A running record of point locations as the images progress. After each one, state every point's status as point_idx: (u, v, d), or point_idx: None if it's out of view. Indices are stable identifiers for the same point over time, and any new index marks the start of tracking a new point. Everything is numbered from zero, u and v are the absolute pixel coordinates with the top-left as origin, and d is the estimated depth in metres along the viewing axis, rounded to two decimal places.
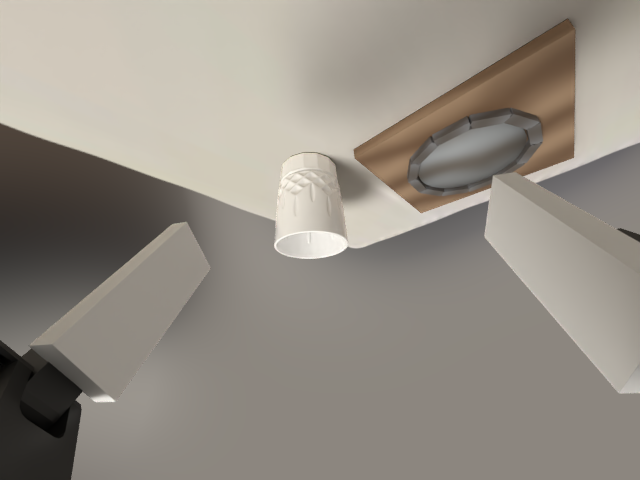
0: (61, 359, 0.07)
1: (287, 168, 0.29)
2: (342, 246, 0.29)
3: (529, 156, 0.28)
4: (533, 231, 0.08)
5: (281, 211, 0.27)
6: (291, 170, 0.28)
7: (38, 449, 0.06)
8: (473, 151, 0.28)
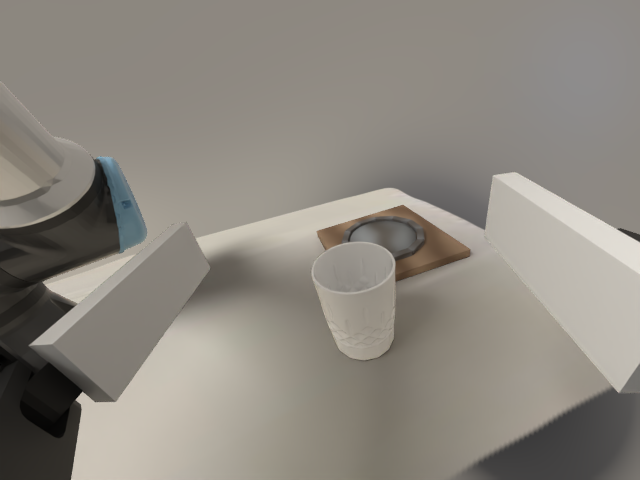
0: (61, 359, 0.07)
1: (333, 336, 0.28)
2: (375, 247, 0.27)
3: (385, 216, 0.48)
4: (533, 231, 0.08)
5: (321, 304, 0.25)
6: None
7: (38, 449, 0.06)
8: (372, 236, 0.44)
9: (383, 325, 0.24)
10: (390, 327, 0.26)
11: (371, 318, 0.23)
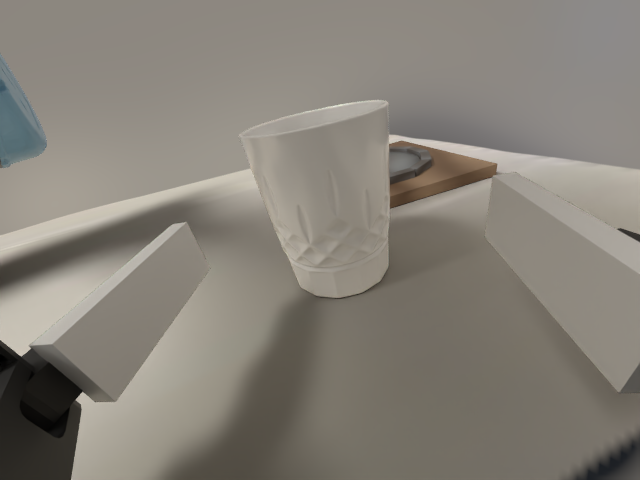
0: (61, 359, 0.07)
1: (291, 265, 0.18)
2: (355, 108, 0.16)
3: None
4: (533, 231, 0.08)
5: (260, 192, 0.14)
6: None
7: (38, 449, 0.06)
8: None
9: (368, 223, 0.14)
10: (381, 235, 0.15)
11: (344, 201, 0.12)
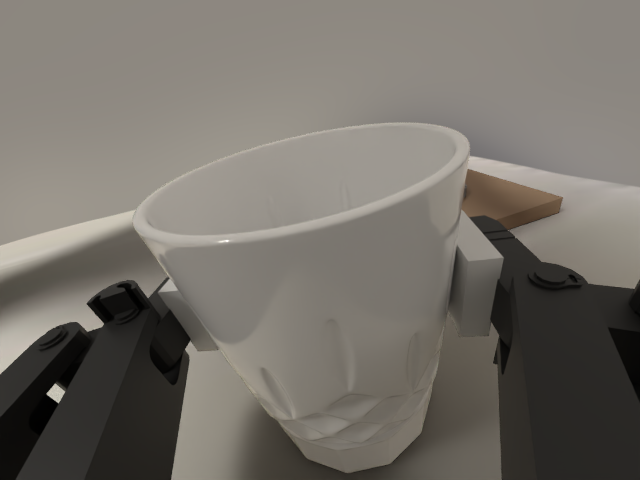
0: (183, 306, 0.08)
1: None
2: (379, 134, 0.09)
3: None
4: None
5: None
6: None
7: (159, 393, 0.06)
8: None
9: (412, 382, 0.07)
10: (431, 380, 0.08)
11: (367, 367, 0.05)
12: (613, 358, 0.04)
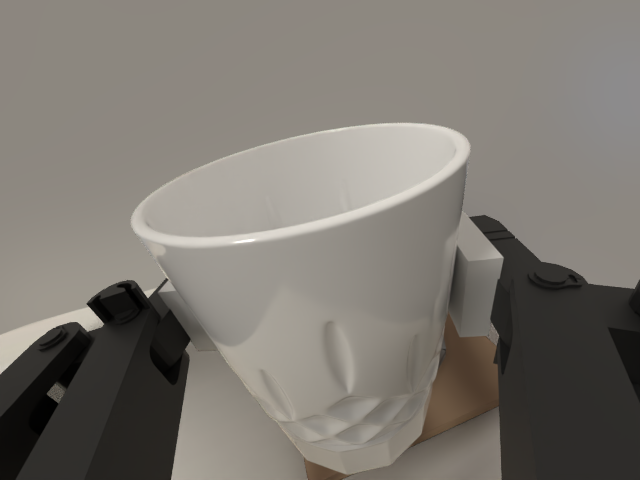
0: (183, 306, 0.08)
1: None
2: (379, 134, 0.09)
3: None
4: None
5: None
6: None
7: (159, 393, 0.06)
8: None
9: (412, 383, 0.07)
10: (431, 381, 0.08)
11: (366, 368, 0.05)
12: (613, 358, 0.04)
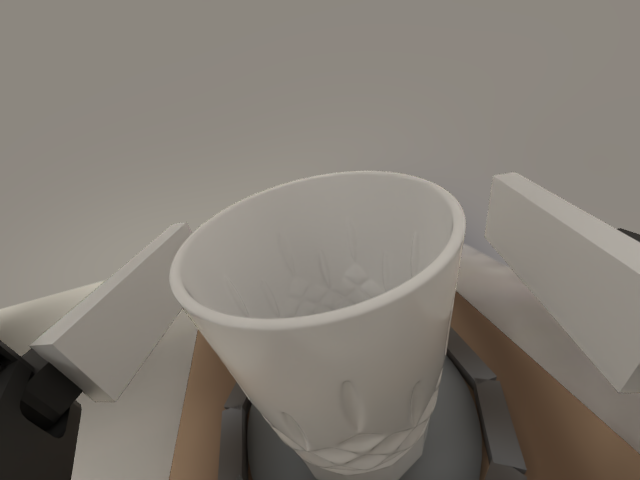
0: (61, 359, 0.07)
1: None
2: (383, 181, 0.10)
3: None
4: (533, 231, 0.08)
5: None
6: None
7: (38, 449, 0.06)
8: None
9: (414, 418, 0.07)
10: (431, 411, 0.09)
11: (375, 413, 0.06)
12: None
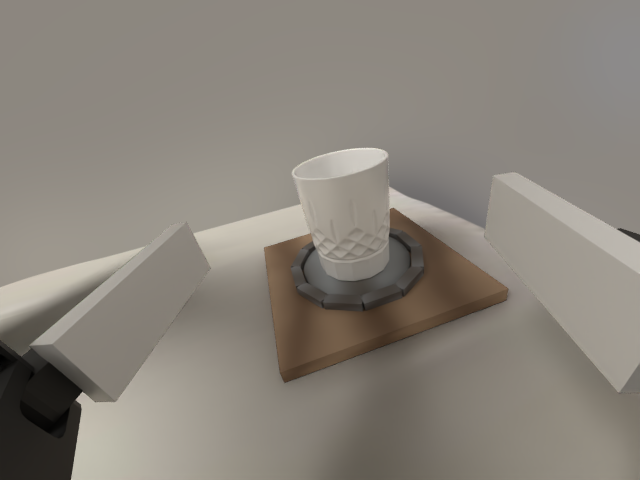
0: (61, 359, 0.07)
1: (320, 259, 0.25)
2: (366, 151, 0.23)
3: None
4: (533, 231, 0.08)
5: (304, 210, 0.22)
6: (317, 250, 0.25)
7: (38, 449, 0.06)
8: None
9: (375, 231, 0.21)
10: (384, 238, 0.22)
11: (360, 217, 0.20)
12: None
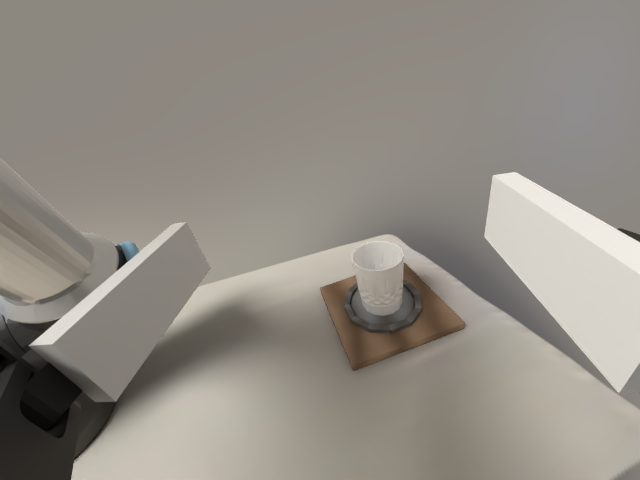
0: (61, 359, 0.07)
1: (363, 302, 0.44)
2: (390, 244, 0.42)
3: None
4: (533, 231, 0.08)
5: (357, 279, 0.41)
6: None
7: (38, 449, 0.06)
8: None
9: (396, 291, 0.40)
10: (400, 294, 0.41)
11: (389, 286, 0.39)
12: None
